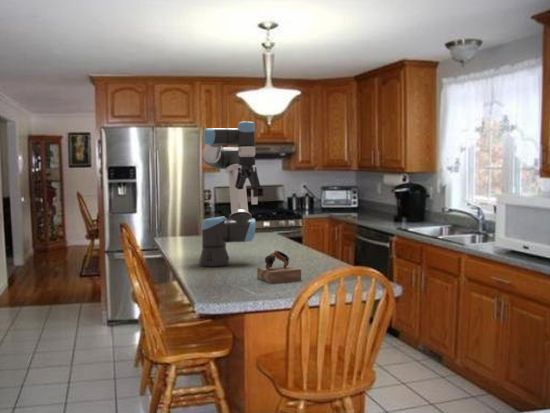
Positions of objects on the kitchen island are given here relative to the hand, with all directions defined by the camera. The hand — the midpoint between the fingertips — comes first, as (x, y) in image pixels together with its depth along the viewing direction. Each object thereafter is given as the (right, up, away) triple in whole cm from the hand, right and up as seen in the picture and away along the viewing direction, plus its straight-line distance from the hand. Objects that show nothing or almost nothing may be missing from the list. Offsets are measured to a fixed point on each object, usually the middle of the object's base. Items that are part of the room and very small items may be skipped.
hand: (247, 203), depth 253 cm
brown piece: (+11, -29, -11) cm, 33 cm away
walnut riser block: (+14, -33, -12) cm, 38 cm away
